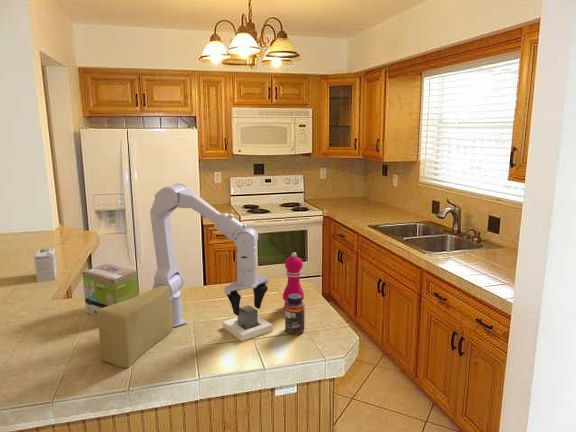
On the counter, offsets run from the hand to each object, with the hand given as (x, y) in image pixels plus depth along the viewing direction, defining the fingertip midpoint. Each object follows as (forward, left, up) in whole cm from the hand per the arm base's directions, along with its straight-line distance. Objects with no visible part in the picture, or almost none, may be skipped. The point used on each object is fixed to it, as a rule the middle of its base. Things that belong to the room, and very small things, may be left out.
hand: (247, 310), depth 129 cm
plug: (0, 0, -6) cm, 6 cm away
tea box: (-29, +37, -6) cm, 48 cm away
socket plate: (0, 0, -6) cm, 6 cm away
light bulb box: (-40, +89, -6) cm, 98 cm away
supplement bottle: (+11, -10, -6) cm, 16 cm away
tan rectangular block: (-29, +9, -6) cm, 31 cm away
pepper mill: (+21, +3, -6) cm, 22 cm away
